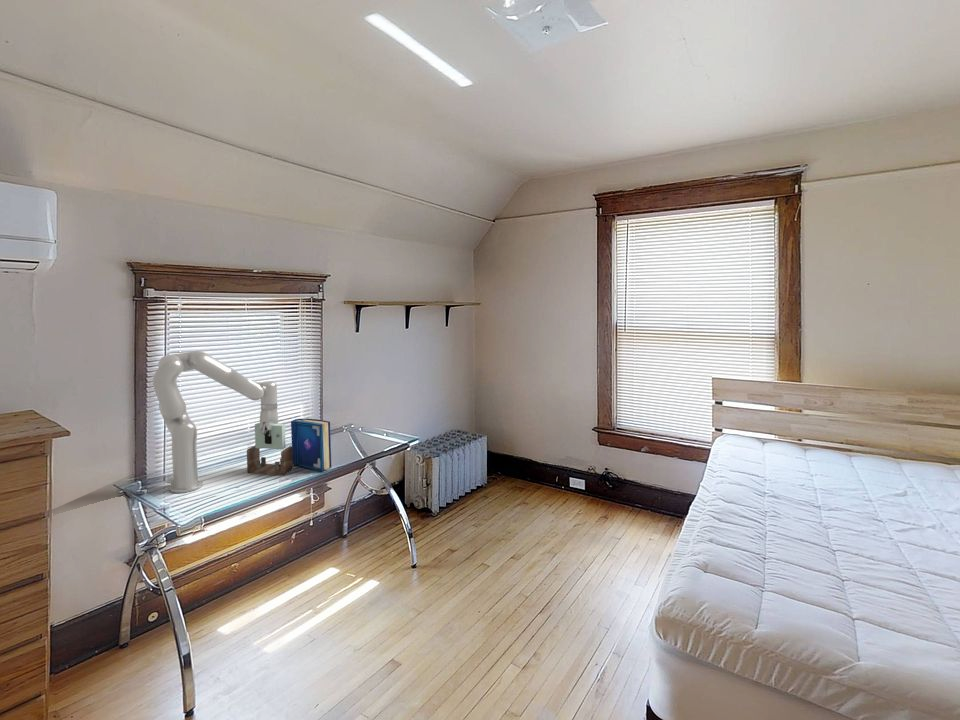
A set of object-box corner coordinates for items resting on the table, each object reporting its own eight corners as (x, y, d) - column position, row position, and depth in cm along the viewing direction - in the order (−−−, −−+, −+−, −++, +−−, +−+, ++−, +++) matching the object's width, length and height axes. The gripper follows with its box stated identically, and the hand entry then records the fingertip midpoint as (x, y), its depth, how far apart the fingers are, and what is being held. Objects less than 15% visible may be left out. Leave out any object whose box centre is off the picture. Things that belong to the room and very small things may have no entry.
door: (254, 448, 240) (253, 424, 238) (258, 446, 244) (257, 423, 242) (281, 449, 239) (281, 426, 237) (285, 447, 242) (284, 424, 241)
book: (289, 465, 251) (288, 418, 248) (299, 461, 258) (299, 416, 255) (322, 472, 243) (322, 424, 240) (332, 468, 250) (331, 421, 246)
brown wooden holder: (247, 473, 239) (246, 449, 238) (257, 467, 248) (256, 444, 247) (284, 475, 238) (284, 451, 236) (292, 469, 247) (292, 446, 245)
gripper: (270, 402, 247) (271, 437, 250) (252, 410, 231) (254, 447, 233) (284, 403, 247) (285, 438, 249) (267, 410, 230) (269, 447, 233)
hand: (270, 442), depth 241 cm, fingers closed on door, 3 cm apart
